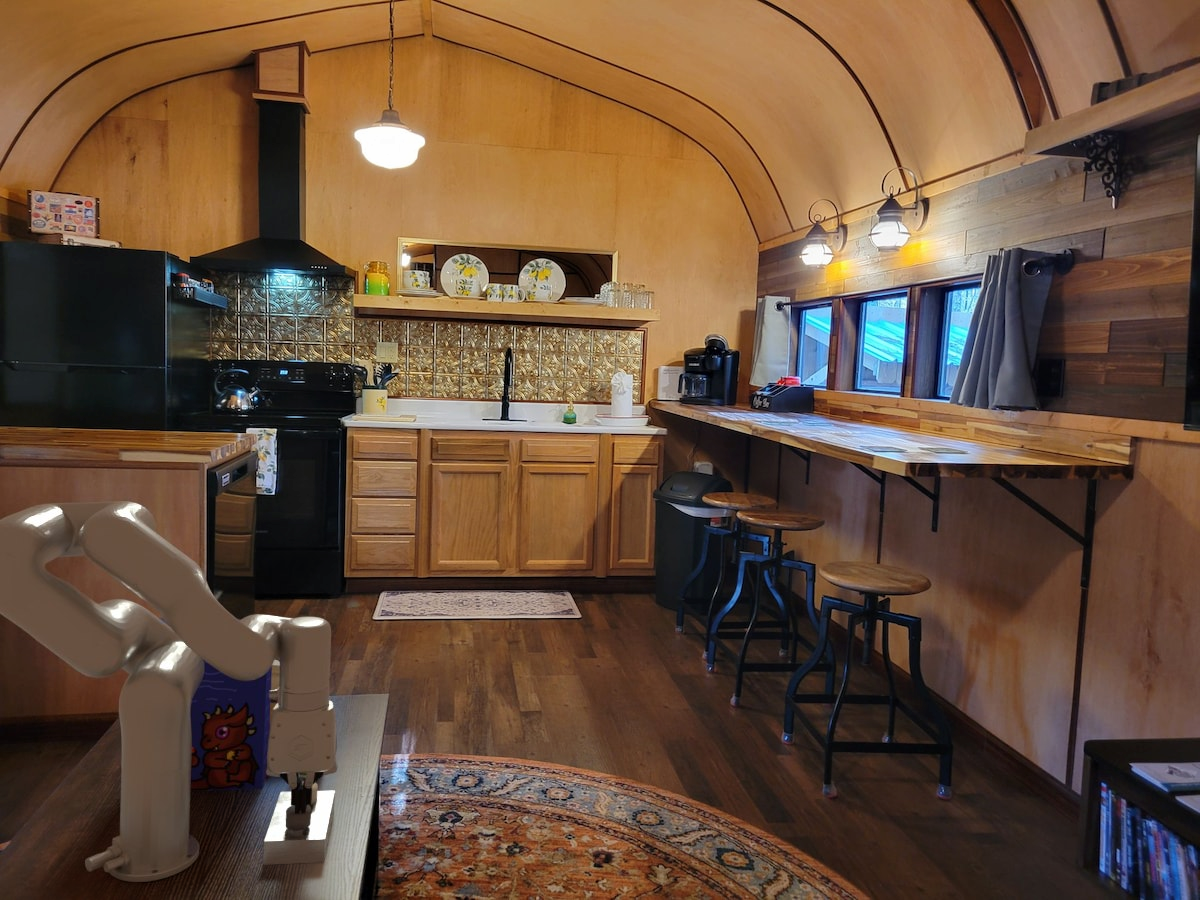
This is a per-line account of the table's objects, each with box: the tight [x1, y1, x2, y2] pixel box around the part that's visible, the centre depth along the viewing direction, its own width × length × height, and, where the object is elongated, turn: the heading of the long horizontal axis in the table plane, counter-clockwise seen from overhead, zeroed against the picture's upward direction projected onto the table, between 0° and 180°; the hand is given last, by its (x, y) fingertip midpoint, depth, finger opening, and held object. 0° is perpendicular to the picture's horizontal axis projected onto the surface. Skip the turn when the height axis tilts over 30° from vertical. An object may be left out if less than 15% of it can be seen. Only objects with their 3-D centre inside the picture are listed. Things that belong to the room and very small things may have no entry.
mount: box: [262, 790, 336, 866], centre depth 143 cm, size 16×9×4 cm, turn 11°
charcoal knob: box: [286, 805, 311, 836], centre depth 139 cm, size 4×4×6 cm
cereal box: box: [158, 617, 272, 792], centre depth 158 cm, size 22×6×30 cm, turn 101°
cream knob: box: [309, 782, 319, 806], centre depth 148 cm, size 4×4×6 cm
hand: (301, 808), depth 139 cm, fingers closed
